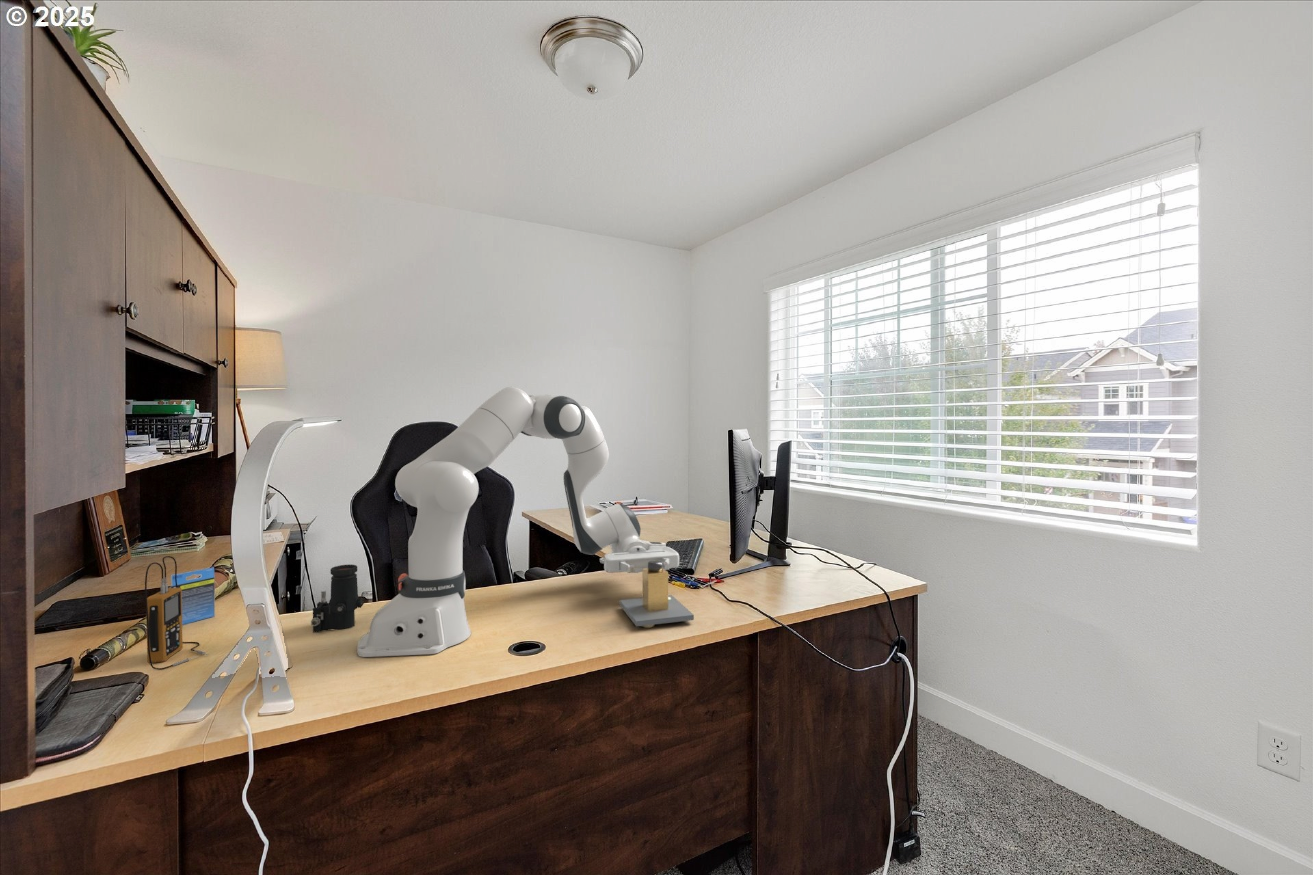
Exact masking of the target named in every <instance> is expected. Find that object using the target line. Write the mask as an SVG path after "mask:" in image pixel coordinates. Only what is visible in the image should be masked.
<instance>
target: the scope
mask: <svg viewBox="0 0 1313 875" xmlns="http://www.w3.org/2000/svg"><path fill="white" fill-rule="evenodd" d="M357 572H358V566H357V565H356V564H342V565H337V566H336V565H335V566H333V567H331V568H330V575H332V576H331V577H330V578H331V579H330V580H331V581H330V599H329V601H327V591H326V590H322V591H321V592H320V593H321V595H320V598H321V599H320V601H319V602H318V603H316V607H313V608H312V618H311V620H310V626H312V633H314V634H315V633H322V631H323V632H324V631H334V630H335V631H336V630H337V631H342V630H349V629H351V628H353V627H355V626H356V625H355V623H356V622H355V616H356V615H355V614H356V613H355V610H357V609H359V608H361V609H362V607H363V605H364V599H363V598H362V597H359V592H358V574H357Z"/></svg>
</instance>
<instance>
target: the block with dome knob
mask: <svg viewBox="0 0 1313 875" xmlns="http://www.w3.org/2000/svg"><path fill="white" fill-rule="evenodd" d="M641 573H642V598H643V606H644V607H645V608H646V609H647V610H648V611H657V610H666V609H668V595H669V572H668V570H665V569H663V562H661V561H649V562H648V568H647V569H642V572H641Z"/></svg>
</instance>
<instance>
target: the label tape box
mask: <svg viewBox="0 0 1313 875" xmlns="http://www.w3.org/2000/svg"><path fill="white" fill-rule="evenodd" d="M192 576H196V577H195V578H190V577H192ZM197 576H200V577H197ZM187 578H190V579H187ZM170 581H171V583H170V584H171V585H170V586H169V587H168V588H176V583H175V574H171V575H170ZM215 581H216V577H215V567H214V566H212V567H208V568H203V569H197V570H193V571H192V570H191V571H186V572H181V573H177V587H178V588H181V589H182V626H184V625H187V624H188V625H189V624H191V623H194V622H198V621H202V620H206V619H209V618H212V617H213V618H214V617H215V615H216V614H215V612H216V611H215V610H216V609H215V607H216V605H215V596H216V594H215V593H216V591H215V590H216V588H215V587H216V582H215Z"/></svg>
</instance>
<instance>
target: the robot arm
mask: <svg viewBox="0 0 1313 875" xmlns="http://www.w3.org/2000/svg"><path fill="white" fill-rule="evenodd" d="M519 434H523V435H525V436H528V437H537V438H541V439H546V440H547V439H549V440H551V439H558V440H561V442H562V443H563V446H564V449H565V452H566V454H567V460H568V461H567V467H566V470H565V471H564V472H563V486H564V490H565V496H566V501H567V505H568V511H569V516H570V520H571V526H572V536H573V537H572V538H573V540H574V544H575V546H576V547H577V549H578V550H579V552H580V553H583V554H585V555H591V556H594V555H596V554H598V553H599V552H600V551H602V550H603V549H605V548H606V547H609V546H610V551H611V553H605V554H604V556H603V557H602V558H599V562H600V564H603V569H604V571H605V572H606V573H608V574H614V573H624V572H625V573H627V574H639V573H642V569H647V568H648V562H649V561H661V562H663V569H665V570H666V571H668V570H670V569H671V568H672V569H673V568H678V567H679V566H680V554H679V553H678V551H676V550H675V549H673V548H671V547H670V546H666V543H665V542H660V541H659V542H657V541H647V540H644V539H640V536H641V529H642V528H641V524H640V522H639V519H638V517H637V515H636V514H635V513H634V511H633V510H632V509H631V508H630V507H629V506H627V505H626V504H623V503H619V502H618V503H616V504H614V505H612V506H610V507H608V508H606V509H604V510H602V511H600V512H598V513H596V514H593V515H592V516H589V517H587V514H586V509H585V505H584V499H583V498H584V493H585V491H586V489H587V488H588V486H589V485H591V482H593V481H594V479H595V478H597V477H598V476H599V475H600V474H602V472H603V471H604V469H605V467H606V466H607V464H608V462H609V458H610V451H609V447H608V444H607V440H606V437H605V436H604V433H603V430H602V427H601V426H600V424H599V422H598V420H597V418H596V417H595V415H594V414H593V412H592V410H591V409H590V408H589V407H587V406H586V405H582V404H579V402H578V401H576V400H575V399H573V398H571V397H569V396H564V395H551V394H539V395H538V394H537V395H528V393H526V391H525V390H523V389H521V388H520V387H516V386H507V387H505V388H502V389H501V390H499V391H498V392H496V393H495V394H493V395H492V396H490V398H488V399H487V400H485V401H484V402H483V403H482V404H481V405H480V406H478V408H476V410H474V411H473V412H472V413H470V415H469V416H468V417H467V418H466V419H465V420H464V421H463V422H462V423H461V424H460V425H458V427H456V429H454V430H453V431H452V432H451V433H450V434H449V435H447V436H446V437H444V438H442V439H441V440H440V441H439V442H437V443H436V444H435V445H433V446H432V447H430V448H429V449H428V450H426V451H425V452H424V453H422V454H421V455H419V456H418V457H417V458H416V459H414V460H412V461H411V462H409V463H407V464H406V465H404V466H403V467H401V469H400V470H399V471H398V472H397V474H396V476H395V483H394V486H395V490H396V492H397V494H398V496H399V497H400V498H401V499H402V500H403V501H404V502H405V503H407V505H410V506H411V507H415V508H417V511H416V512H417V513H416V514H417V515H416V520H415V524H414V528H413V531H412V534H411V535H410V537H409V539H408V541H407V542H408V543H407V544H408V546H407V548H408V550H407V552H408V561H407V562H408V573H402V574H400V575H399V576H398V578H397V580H398V581H397V583H398V585H397V586H398V587H397V589H398V594H397V595H396V596H394V597H393V598H392V599H391V600H389V601H388V602H387V603H386V604H384V606H382V607H381V608H380V609H378V610H377V612H375V614H374V615H373V618H371V619H372V620H371V622H370V625H369V631H368V632H367V633H366V634H364V635H363V636H362V637H360V639H359V641H358V642H357V646H356V653H357V655H358V656H359V657H361V658H372V657H373V658H375V657H396V656H398V657H399V656H417V655H433V654H439V653H440V652H442V651H443V650H445V649H447V648H449V647H453V646H455V645H458V644H460V643H463V642H464V641H467V639H468V638H470V636H471V634H472V632H471V631H472V630H471V628H470V626H469V622H468V616H467V611H466V606H465V595H466V574H465V570H463V566H464V565H463V556H464V555H463V551H464V550H463V547H464V542H463V540H464V532H465V526H466V523H467V519H468V514H469V511H470V510H471V507H472V506H473V505H474V503H475V502H476V500H477V498H478V495H479V489H480V488H479V486H480V485H479V482H478V479H477V477H476V476H475V474H477V472H479V471H481V470H483V469H485V468H487V467H489V466H490V465H491V464H493V463H494V461H495V460H497V458H498V457H499V456H500V455H501V454H502V453H503V452H504V451H505V449H506V448H507V447H509V445H510V444H512V442H513V441H514V440H515V439H516V438H517V437H518V436H519Z"/></svg>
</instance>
